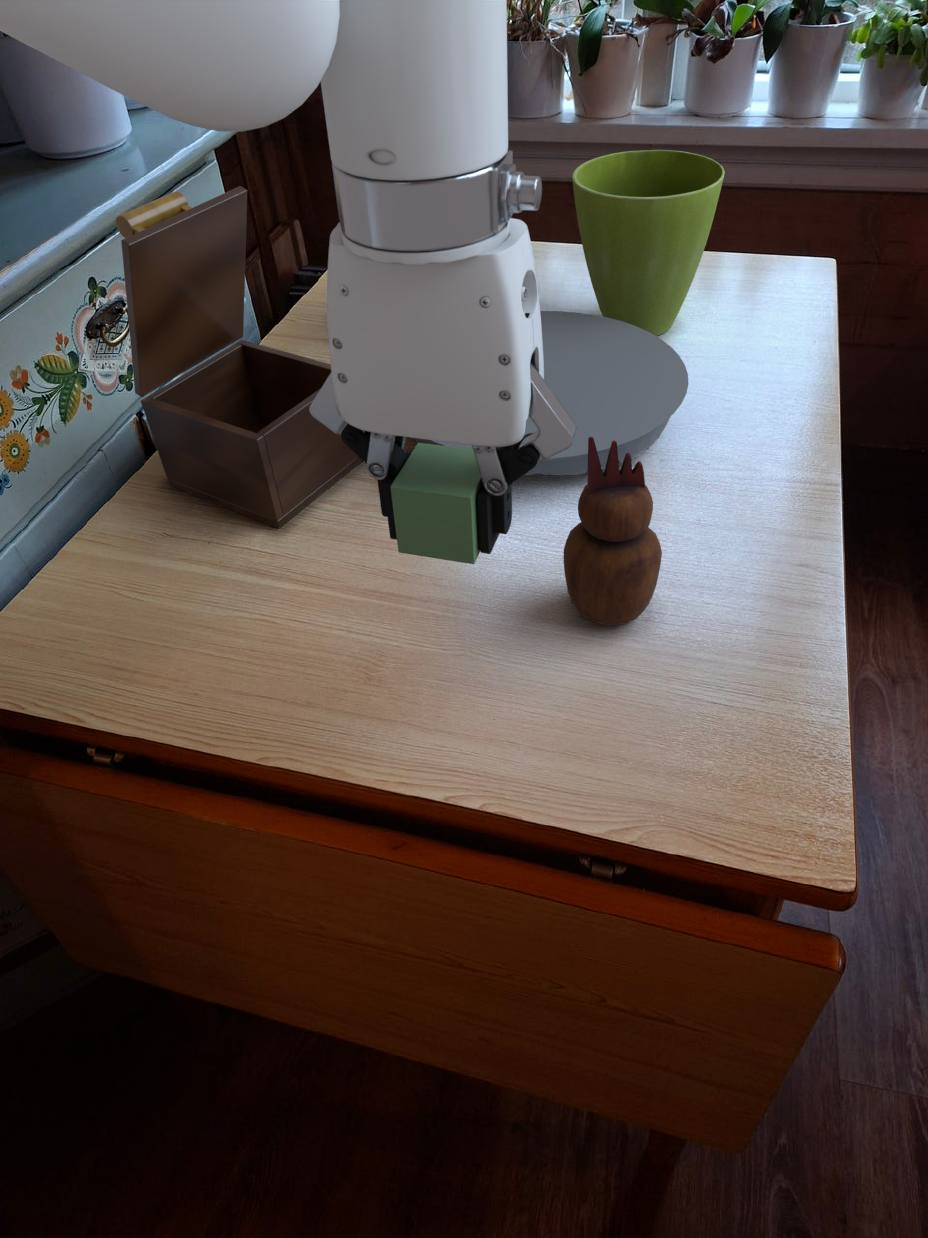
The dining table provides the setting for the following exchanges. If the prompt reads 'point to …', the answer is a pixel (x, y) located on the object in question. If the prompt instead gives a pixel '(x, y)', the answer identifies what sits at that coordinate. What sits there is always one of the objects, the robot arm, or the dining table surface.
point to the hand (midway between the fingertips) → (447, 529)
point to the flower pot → (645, 230)
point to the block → (437, 503)
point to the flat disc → (605, 387)
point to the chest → (248, 433)
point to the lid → (183, 282)
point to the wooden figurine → (612, 543)
